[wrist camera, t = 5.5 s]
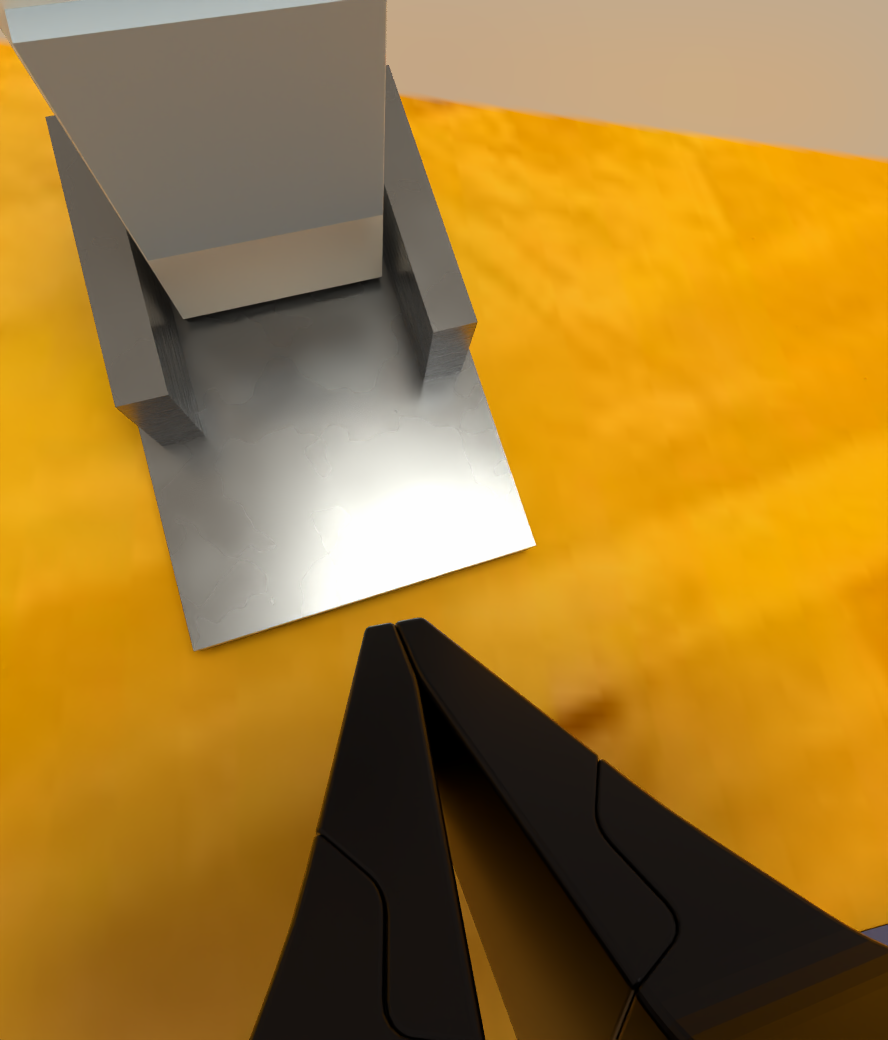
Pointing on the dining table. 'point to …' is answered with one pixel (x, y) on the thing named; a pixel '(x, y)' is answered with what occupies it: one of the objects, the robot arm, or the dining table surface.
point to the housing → (306, 416)
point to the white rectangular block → (224, 134)
